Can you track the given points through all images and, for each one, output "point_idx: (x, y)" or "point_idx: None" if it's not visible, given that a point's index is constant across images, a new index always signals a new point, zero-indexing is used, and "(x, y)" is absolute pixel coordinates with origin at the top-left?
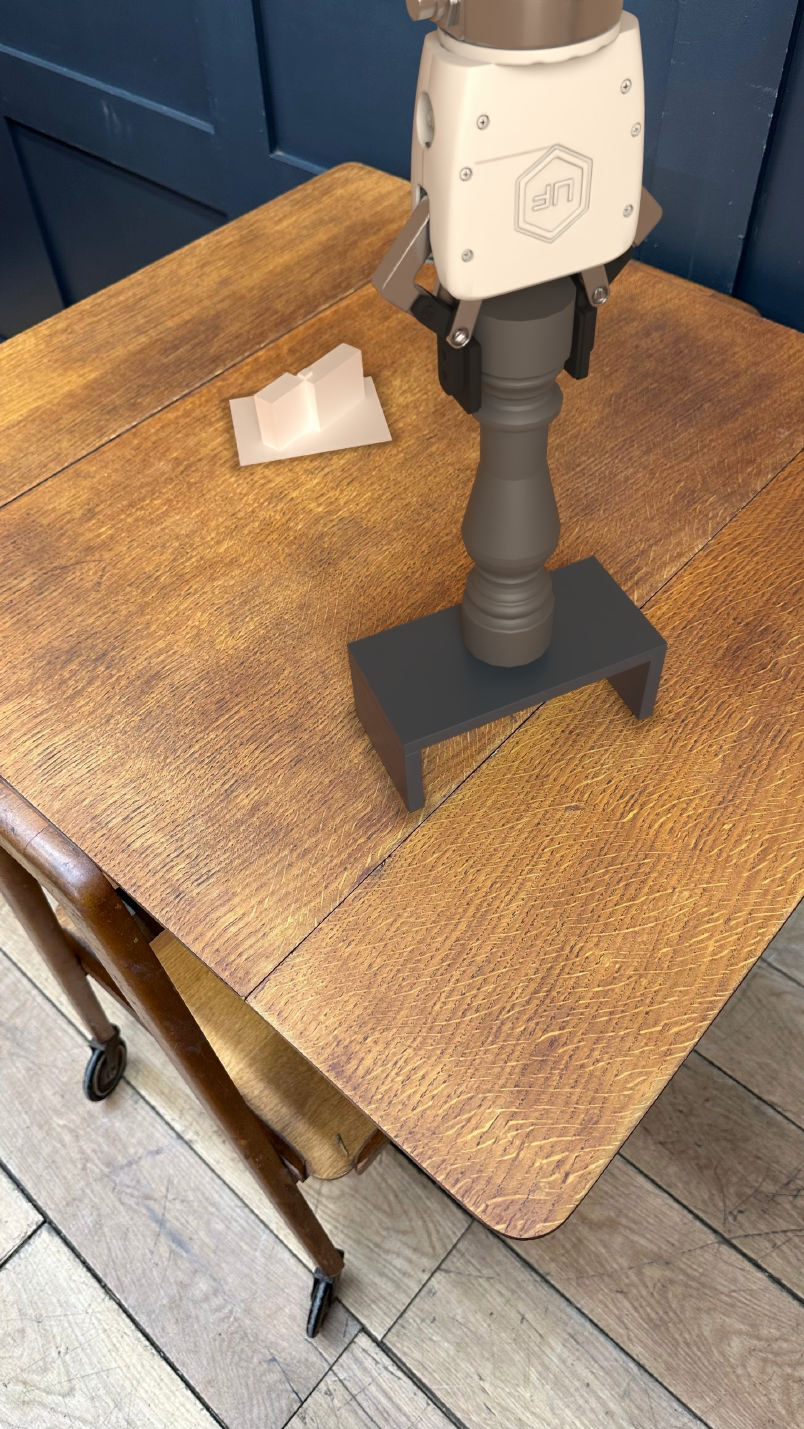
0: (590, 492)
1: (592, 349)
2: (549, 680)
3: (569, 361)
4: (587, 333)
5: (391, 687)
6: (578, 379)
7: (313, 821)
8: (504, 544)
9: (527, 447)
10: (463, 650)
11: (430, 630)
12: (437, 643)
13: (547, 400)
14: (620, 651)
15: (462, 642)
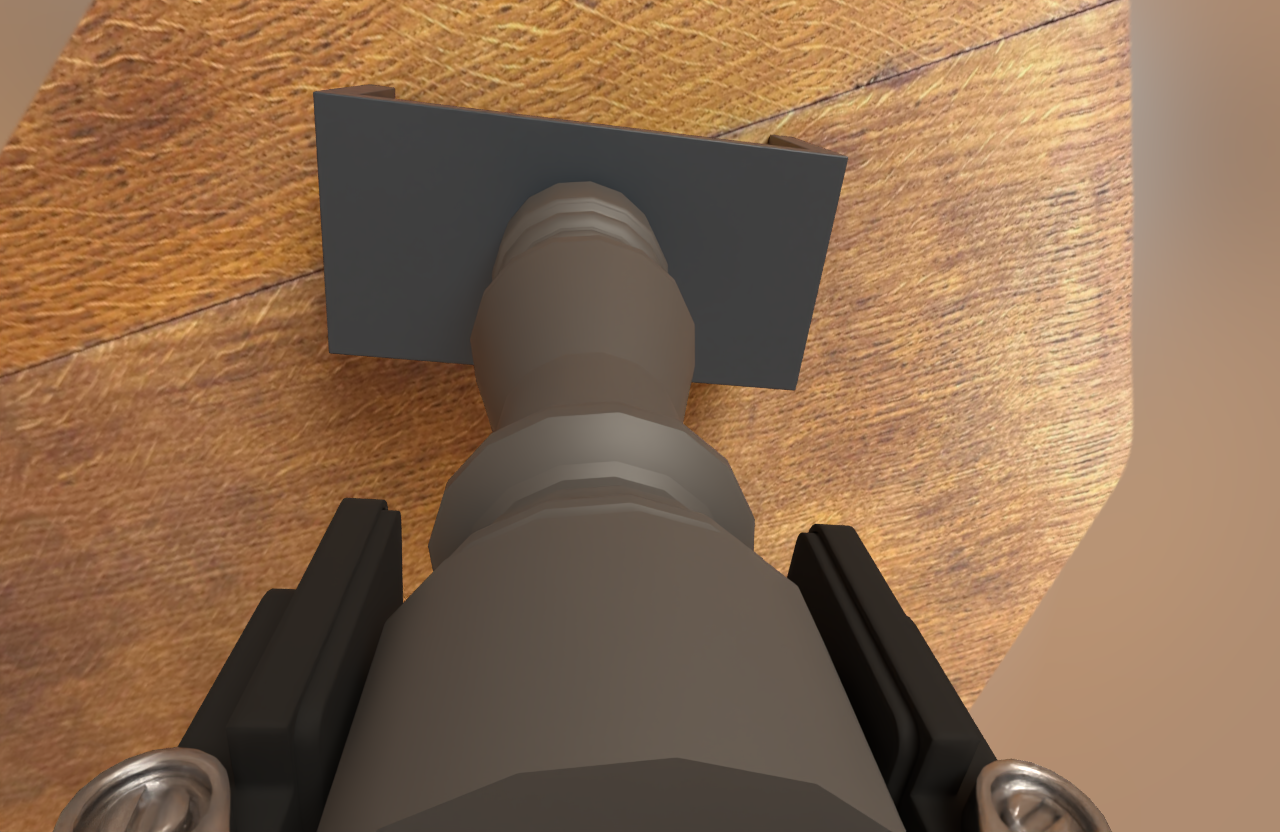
0: (221, 525)
1: (270, 591)
2: (561, 142)
3: (390, 580)
4: (302, 635)
5: (792, 275)
6: (385, 501)
7: (904, 201)
8: (659, 286)
9: (612, 397)
10: None
11: None
12: None
13: (538, 475)
14: (408, 126)
15: None
